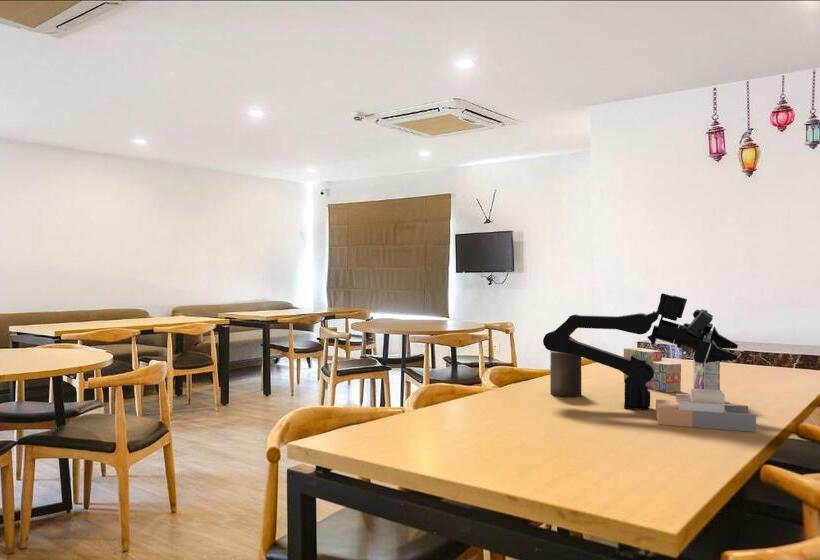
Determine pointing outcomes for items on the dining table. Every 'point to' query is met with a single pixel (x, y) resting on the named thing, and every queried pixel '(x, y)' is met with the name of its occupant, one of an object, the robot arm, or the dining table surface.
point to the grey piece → (706, 417)
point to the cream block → (707, 396)
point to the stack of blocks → (659, 370)
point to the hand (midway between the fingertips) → (737, 352)
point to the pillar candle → (565, 374)
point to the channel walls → (697, 404)
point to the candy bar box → (706, 375)
